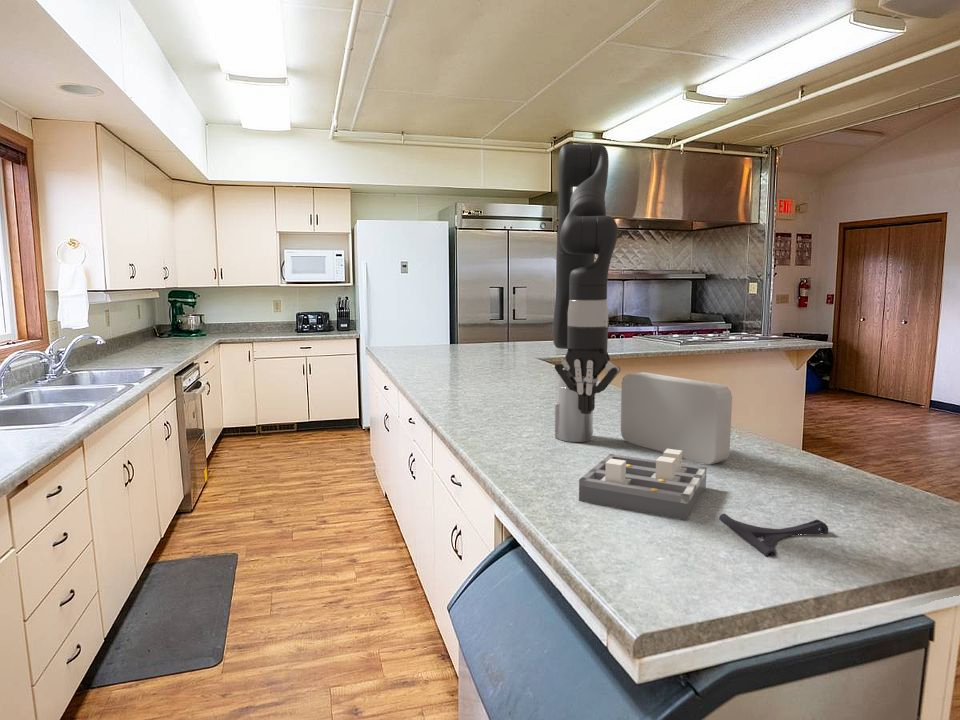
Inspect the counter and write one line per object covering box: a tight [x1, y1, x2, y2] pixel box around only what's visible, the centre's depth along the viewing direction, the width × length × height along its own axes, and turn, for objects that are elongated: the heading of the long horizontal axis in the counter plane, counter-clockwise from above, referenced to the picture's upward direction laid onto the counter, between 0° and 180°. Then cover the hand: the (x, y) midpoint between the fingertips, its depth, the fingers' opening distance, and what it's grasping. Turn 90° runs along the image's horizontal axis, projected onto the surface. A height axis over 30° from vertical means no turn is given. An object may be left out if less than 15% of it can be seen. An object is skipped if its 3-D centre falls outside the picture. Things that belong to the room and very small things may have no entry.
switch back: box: [662, 449, 687, 473], centre depth 120 cm, size 5×3×4 cm
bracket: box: [718, 513, 829, 558], centre depth 98 cm, size 14×15×3 cm
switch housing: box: [578, 453, 708, 521], centre depth 117 cm, size 20×19×4 cm
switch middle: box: [651, 455, 681, 482], centre depth 115 cm, size 5×3×4 cm
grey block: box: [620, 371, 733, 465], centre depth 146 cm, size 29×8×18 cm, turn 33°
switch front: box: [601, 459, 631, 485], centre depth 114 cm, size 5×3×4 cm
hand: (586, 413), depth 115 cm, fingers closed
